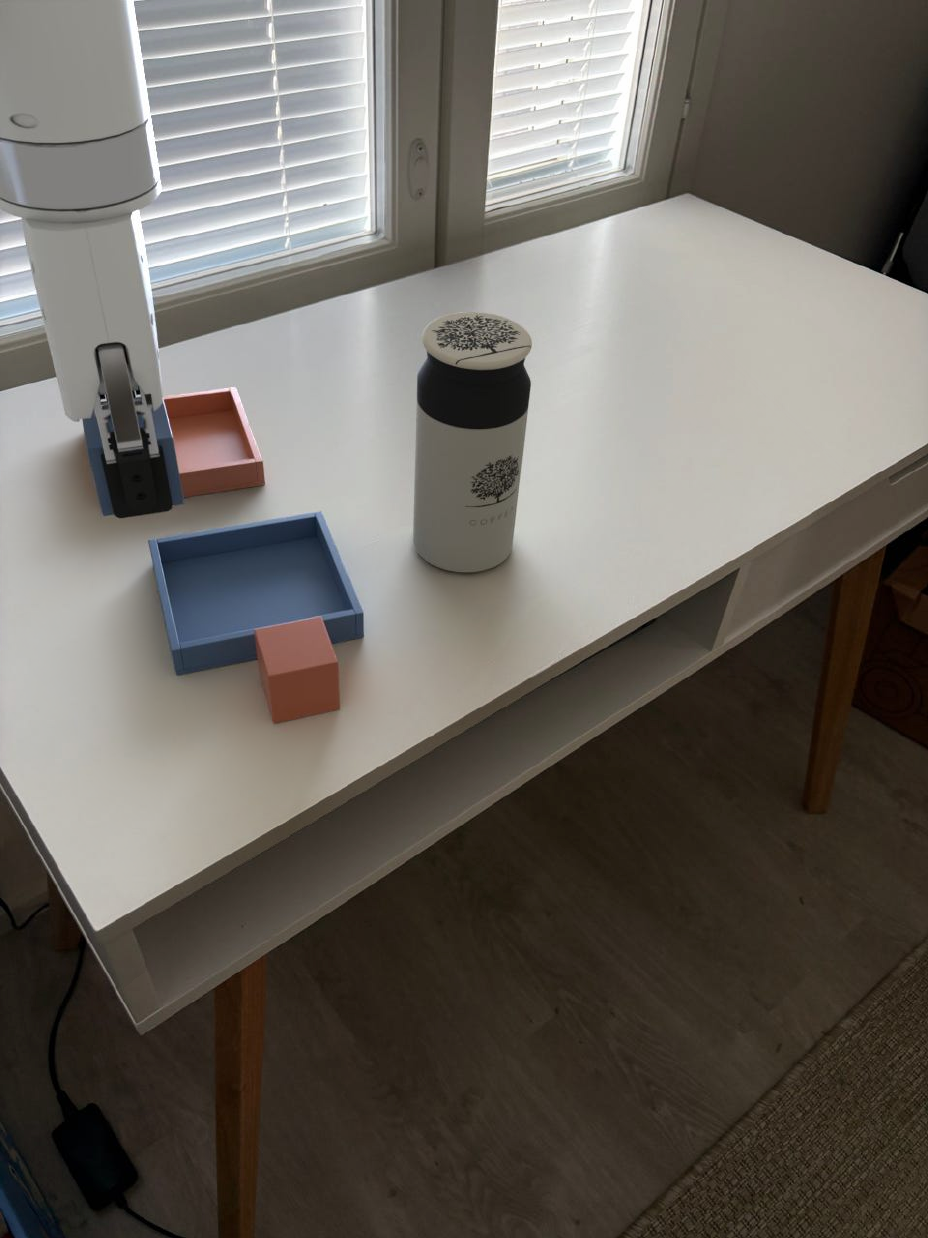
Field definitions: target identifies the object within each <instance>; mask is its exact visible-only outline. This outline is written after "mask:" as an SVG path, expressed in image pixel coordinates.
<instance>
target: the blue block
mask: <svg viewBox="0 0 928 1238" xmlns="http://www.w3.org/2000/svg"><path fill="white" fill-rule="evenodd" d="M151 413H152V418H153V423H154V428H155V434H156V439H157V444H158V446H162V448H163V453H164V458H165V464H166V469H167V475H168V480H169V486H170V491H171V497H172V503H173V506H179V505H184V504H185V500H184V499H185V498H183V493H182V487H181V481H180V475H179V470H178V464H177V458H176V452H175V446H174V440H173V436H172V432H171V428H170V424H169V420H168V416H167V412H166V408H165V404H164V400H163V403H162V404H161V406H160V407H159V408H158V409H157V410H156V411H153V408H152V407H151ZM137 418H138V423H139V428H141V427H143V428H144V426H143V420H142V415H141V414H139V415H137ZM81 420H82V427H83V433H84V440H85V448H86V449H85V450H86V452H87V457H88V461H89V466H90V470H91V473H92V478H93V482H94V487H95V490H96V494H97V499H98V504H99V507H100V511H101V515H102V517H108V516H115V515H114V512H113V508H112V503H111V499H110V495H109V490H108V486H107V482H106V477H105V473H104V469H103V464H102V460H101V454H104V449H103V445H102V440H101V436H100V431H99V427H98V422H97V417H96V416H95V413H94V409H93V413H92V416H91V418H87V419H81ZM108 422H109V427H110V431H111V432H112V431H114V428H113V423H112V418H108Z"/></svg>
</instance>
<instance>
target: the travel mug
mask: <svg viewBox="0 0 928 1238" xmlns="http://www.w3.org/2000/svg"><path fill="white" fill-rule="evenodd" d="M421 342H422V345H423V347H424V349H425V350H426V356H427V357H426V359H425V361H424V362H423V364H422V365H421V367H420V368H419V370H418V371H417V372H418V373H417V376H416V408H415V410H416V411H415V412H416V413H415V444H414V445H415V446H414V447H415V449H414V478H413V479H414V485H413V516H412V517H413V519H412V520H413V521H412V522H413V523H412V544H413V547H414V549H415V550H416V552H417V553H418V555H420V557H421V558H422V559H423V560H424V561H426V562H427V563H430V565H432V566H435V567H437V568H439V569H442V570H445V571H450V572H456V573H476V572H482V571H486V570H489V569H492V568H495V567H496V566H498V565H500V564H502V563H503V562H504V561H505V560H506V559H507V558H508V557H509V556H510V554H511V552H512V550H513V544H514V537H515V536H514V535H515V529H516V528H515V527H516V520H517V519H516V517H517V512H518V511H517V510H518V499H519V493H520V484H521V475H522V467H523V457H524V450H525V441H526V440H525V439H526V430H527V423H528V422H527V421H528V414H529V413H528V412H529V405H530V397H531V396H530V395H531V386H532V381H531V378H530V376H529V374H528V370H527V369H526V367H525V365H524V364H525V360H526V357H528V355H529V354H530V352H531V351H532V347H533V340H532V337H531V335H530V333H529V332H528V330H527V329H526V328H524V326H522V325H520V324H519V323H518V322H516V321H514V320H512V319H510V318H507V317H504V316H502V315H498V314H493V313H489V312H479V311H463V312H455V313H449V314H446V315H443V316H440V317H438V318H435V319H434V320H432V321H431V322H430V323H428V324H427V325H426V327H424V329H423V331H422V334H421Z"/></svg>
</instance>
